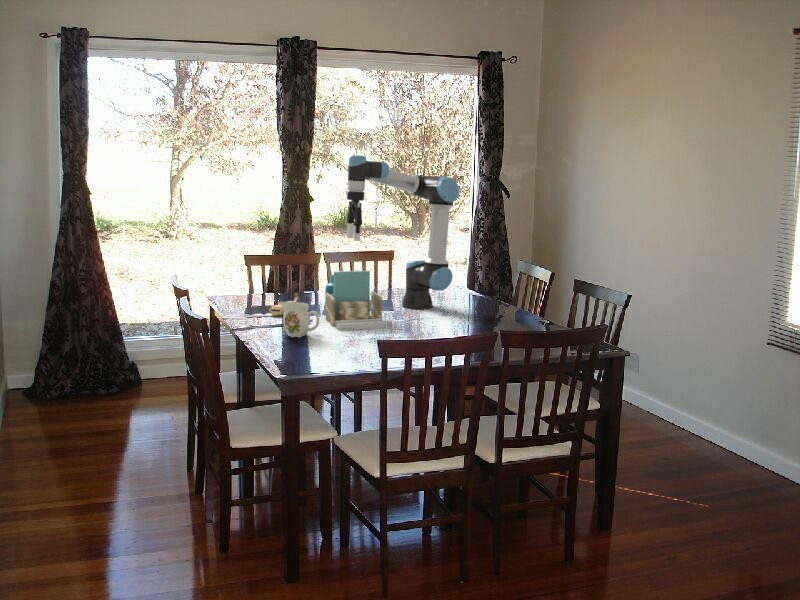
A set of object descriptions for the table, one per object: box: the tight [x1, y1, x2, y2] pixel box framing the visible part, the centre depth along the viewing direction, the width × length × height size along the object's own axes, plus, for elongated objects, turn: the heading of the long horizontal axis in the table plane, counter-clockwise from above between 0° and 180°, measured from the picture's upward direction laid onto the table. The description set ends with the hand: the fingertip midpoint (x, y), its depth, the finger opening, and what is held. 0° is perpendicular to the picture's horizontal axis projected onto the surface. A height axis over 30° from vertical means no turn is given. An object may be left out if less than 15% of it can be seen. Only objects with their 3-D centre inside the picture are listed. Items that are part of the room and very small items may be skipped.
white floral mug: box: [277, 301, 321, 338], centre depth 331 cm, size 11×18×14 cm, turn 77°
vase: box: [324, 273, 334, 307], centre depth 372 cm, size 11×11×19 cm
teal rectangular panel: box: [333, 270, 371, 319], centre depth 356 cm, size 16×2×22 cm, turn 107°
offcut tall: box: [339, 301, 370, 320], centre depth 353 cm, size 13×2×9 cm, turn 107°
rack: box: [325, 290, 383, 327], centre depth 354 cm, size 22×15×14 cm
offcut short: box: [344, 307, 368, 320], centre depth 350 cm, size 10×2×7 cm, turn 107°
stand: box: [334, 319, 385, 331], centre depth 344 cm, size 20×8×4 cm, turn 107°
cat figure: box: [268, 292, 299, 317], centre depth 380 cm, size 10×9×25 cm
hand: (353, 239), depth 354 cm, fingers open, 13 cm apart
